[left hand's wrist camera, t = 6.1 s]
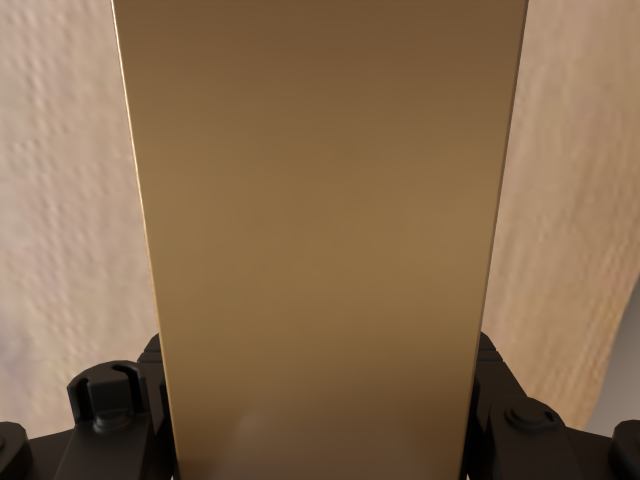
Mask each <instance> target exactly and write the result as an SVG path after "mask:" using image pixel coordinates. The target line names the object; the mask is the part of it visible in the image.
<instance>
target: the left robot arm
mask: <svg viewBox="0 0 640 480" xmlns="http://www.w3.org/2000/svg"><path fill="white" fill-rule="evenodd" d="M67 391H68V395H69V399H70V404H71V408H72V412H73V416H74V420H75V427H74V429H70V430H67V431H64V432H60V433H56V434H51V435H47V436H43V437H38V438H34V439H29V440H28V437H27V434H26V430H25V429H24V428H23V427H22V426H21V425H20V424H18V423H13V422H0V480H171V478H172V475H173V480H180V475H179V468H178V462H177V455H176V448H175V441H174V434H173V427H172V420H171V413H170V407H169V400H168V393H167V386H166V379H165V372H164V365H163V358H162V352H161V345H160V338H159V333H158V334H156V335H155V336H154V337H152V339H151V340H150V342H149V343H148V345H147V346H146V348H145V349H144V353H142V354H141V355H140V357H139V359H138V360H137V363H135V362H132V361H128V360H121V361H110V362H106V363H101V364H98V365H96V366H94V367H91V368H89V369H87V370H85V371H83V372H82V373H80V374H79V375H78V376H76V377H75V378H74V379H73V380H72V381H71V382H70V384H69V385H68V386H67ZM467 474H468V476H469V479H470V480H640V420H628V421H622V422H621V423H619V424H618V425H617V426H616V427H615V429H614V432H613V436H612V438H610V437H605V436H601V435H597V434H592V433H588V432H584V431H579V430H576V429H572V428H569V427H566V426H565V424H564V422H563V421H562V419H561V418H560V416H559V415H558V414H557V413H556V412H555V411H554V410H552V409H551V408H550V407H549V406H548V405H546V404H544V403H542V402H540V401H538V400H536V399H534V398H530V397H527V395H526V394H525V392H524V391H523V389H522V388H521V386H520V385H519V383H518V381H517V380H516V378H515V377H514V375H513V374H512V372H511V371H510V369H509V368H508V366H507V365H506V363H505V362H503V359H502V357H501V356H500V354H499V353H498V351H496V348H495V346H494V345H493V343H492V342H491V340H490V339H489V337H488V336H487V335H485V334H484V333H483V332H481V333H480V340H479V347H478V354H477V361H476V367H475V374H474V381H473V388H472V395H471V402H470V409H469V416H468V423H467V430H466V436H465V443H464V450H463V457H462V464H461V471H460V478H459V480H466V479H467Z"/></svg>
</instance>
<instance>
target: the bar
mask: <svg viewBox="0 0 640 480" xmlns="http://www.w3.org/2000/svg"><path fill="white" fill-rule="evenodd" d="M110 1H111V8H112V14H113V21H114V28H115V35H116V42H117V49H118V56H119V63H120V69H121V76H122V83H123V90H124V97H125V104H126V111H127V118H128V125H129V131H130V138H131V145H132V152H133V159H134V166H135V173H136V180H137V186H138V193H139V200H140V207H141V214H142V221H143V228H144V235H145V241H146V248H147V255H148V262H149V269H150V276H151V283H152V290H153V296H154V303H155V310H156V317H157V324H158V331H159V338H160V345H161V352H162V358H163V365H164V372H165V379H166V386H167V393H168V400H169V407H170V413H171V420H172V427H173V434H174V441H175V448H176V455H177V462H178V468H179V475H180V480H459V478H460V471H461V464H462V457H463V450H464V443H465V436H466V430H467V423H468V416H469V409H470V402H471V395H472V388H473V381H474V374H475V367H476V361H477V354H478V347H479V340H480V333H481V326H482V319H483V312H484V305H485V298H486V292H487V285H488V278H489V271H490V264H491V257H492V250H493V243H494V236H495V229H496V223H497V216H498V209H499V202H500V195H501V188H502V181H503V174H504V167H505V160H506V154H507V147H508V140H509V133H510V126H511V119H512V112H513V105H514V98H515V91H516V85H517V78H518V71H519V64H520V57H521V50H522V43H523V36H524V29H525V23H526V16H527V9H528V2H529V0H110Z"/></svg>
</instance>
